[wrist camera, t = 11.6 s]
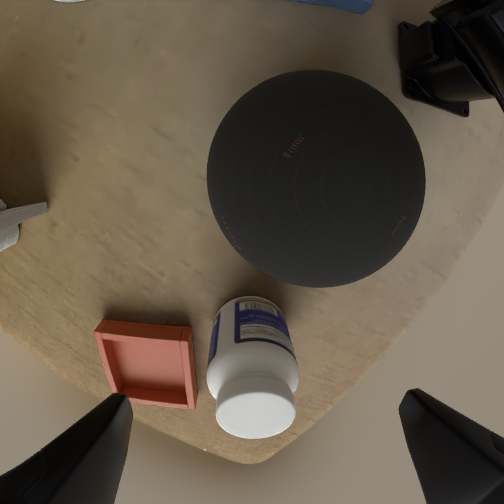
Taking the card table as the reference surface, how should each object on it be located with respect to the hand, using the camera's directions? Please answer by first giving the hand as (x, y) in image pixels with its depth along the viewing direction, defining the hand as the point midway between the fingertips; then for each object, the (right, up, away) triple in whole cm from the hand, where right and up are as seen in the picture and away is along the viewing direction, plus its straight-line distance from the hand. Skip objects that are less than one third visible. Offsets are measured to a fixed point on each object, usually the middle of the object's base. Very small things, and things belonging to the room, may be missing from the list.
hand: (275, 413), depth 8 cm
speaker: (+2, +10, +10) cm, 14 cm away
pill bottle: (-1, -1, +13) cm, 14 cm away
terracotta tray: (-9, -4, +14) cm, 17 cm away
